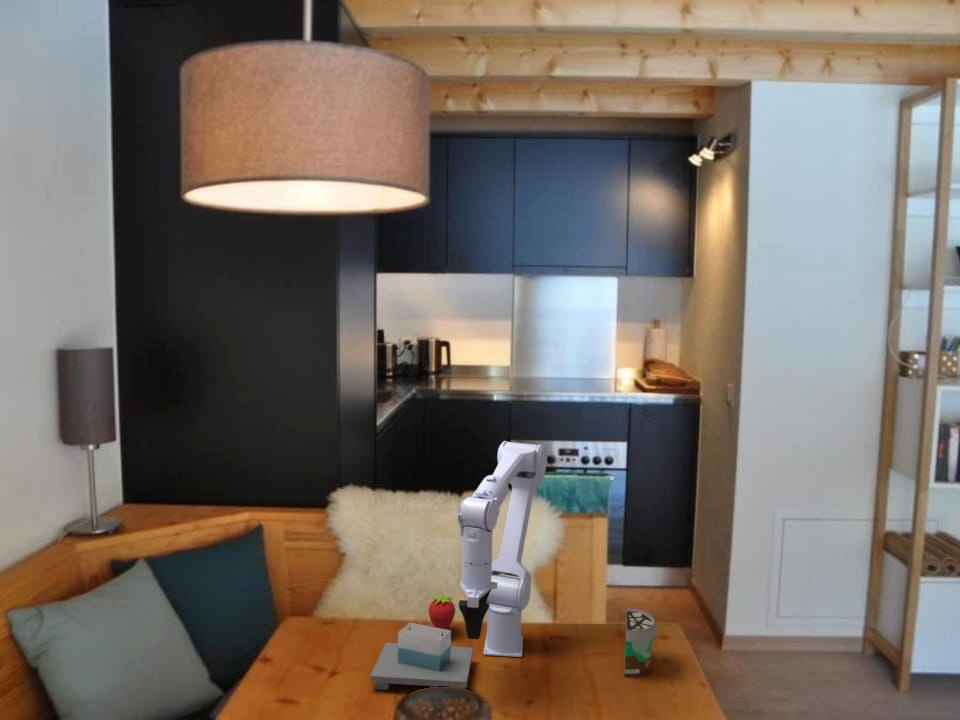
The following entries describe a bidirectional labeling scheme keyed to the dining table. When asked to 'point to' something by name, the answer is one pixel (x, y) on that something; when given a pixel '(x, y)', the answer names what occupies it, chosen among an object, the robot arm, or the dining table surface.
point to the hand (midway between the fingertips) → (475, 629)
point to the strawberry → (441, 612)
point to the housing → (424, 646)
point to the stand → (421, 670)
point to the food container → (638, 642)
